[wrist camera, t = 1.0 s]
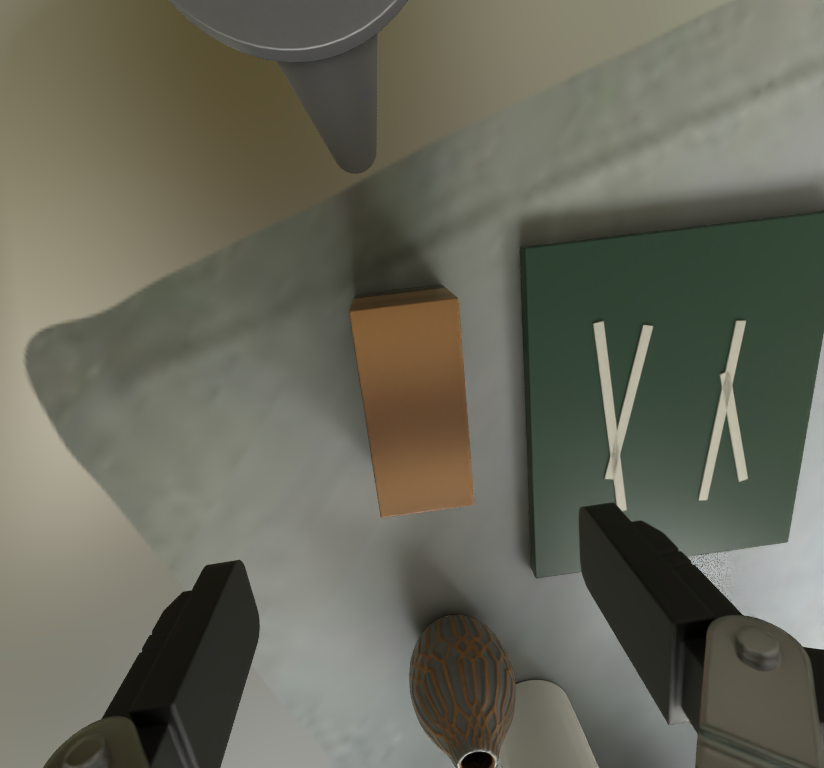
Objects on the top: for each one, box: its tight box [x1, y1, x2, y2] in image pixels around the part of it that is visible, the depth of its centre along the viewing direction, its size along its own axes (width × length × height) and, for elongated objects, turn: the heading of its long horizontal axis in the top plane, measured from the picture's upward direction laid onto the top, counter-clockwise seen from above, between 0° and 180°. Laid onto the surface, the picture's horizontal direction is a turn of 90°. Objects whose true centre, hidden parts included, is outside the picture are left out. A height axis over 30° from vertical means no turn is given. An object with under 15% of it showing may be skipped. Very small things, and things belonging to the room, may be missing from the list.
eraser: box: [349, 285, 474, 518], centre depth 26 cm, size 11×5×6 cm, turn 6°
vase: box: [409, 615, 516, 768], centre depth 31 cm, size 7×7×9 cm
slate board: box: [520, 211, 824, 578], centre depth 30 cm, size 22×18×1 cm
